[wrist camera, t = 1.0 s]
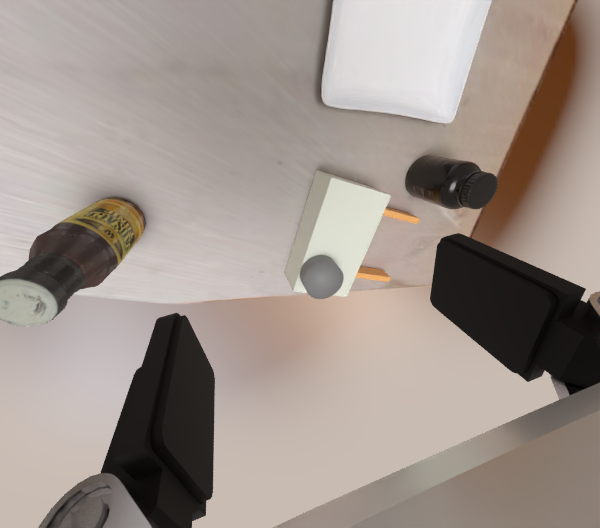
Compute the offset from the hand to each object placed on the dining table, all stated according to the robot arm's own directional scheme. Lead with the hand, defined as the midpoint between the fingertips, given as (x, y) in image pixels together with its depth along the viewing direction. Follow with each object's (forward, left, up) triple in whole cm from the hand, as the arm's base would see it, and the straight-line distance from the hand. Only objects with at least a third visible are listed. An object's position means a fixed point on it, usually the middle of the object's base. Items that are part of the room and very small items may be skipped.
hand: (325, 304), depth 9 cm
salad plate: (-23, +15, -32) cm, 42 cm away
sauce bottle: (+10, -15, -32) cm, 37 cm away
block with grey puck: (+6, +20, -32) cm, 38 cm away
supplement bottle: (-7, +29, -32) cm, 44 cm away
